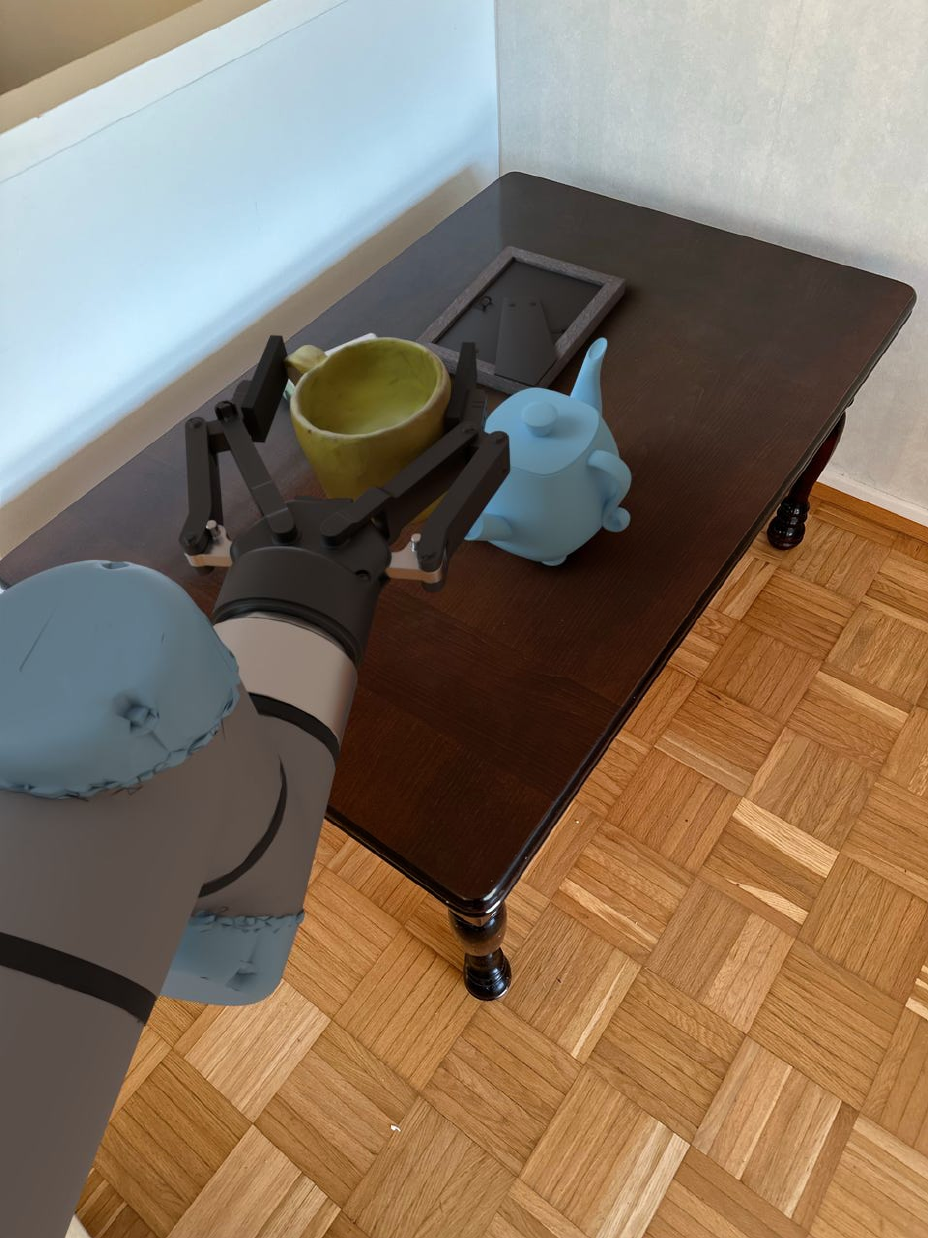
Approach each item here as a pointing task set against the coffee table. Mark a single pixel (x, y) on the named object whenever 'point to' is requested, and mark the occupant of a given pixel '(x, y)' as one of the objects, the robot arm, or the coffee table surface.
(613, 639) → the coffee table surface
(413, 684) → the coffee table surface
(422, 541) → the robot arm
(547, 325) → the picture frame
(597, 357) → the teapot
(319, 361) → the mug
